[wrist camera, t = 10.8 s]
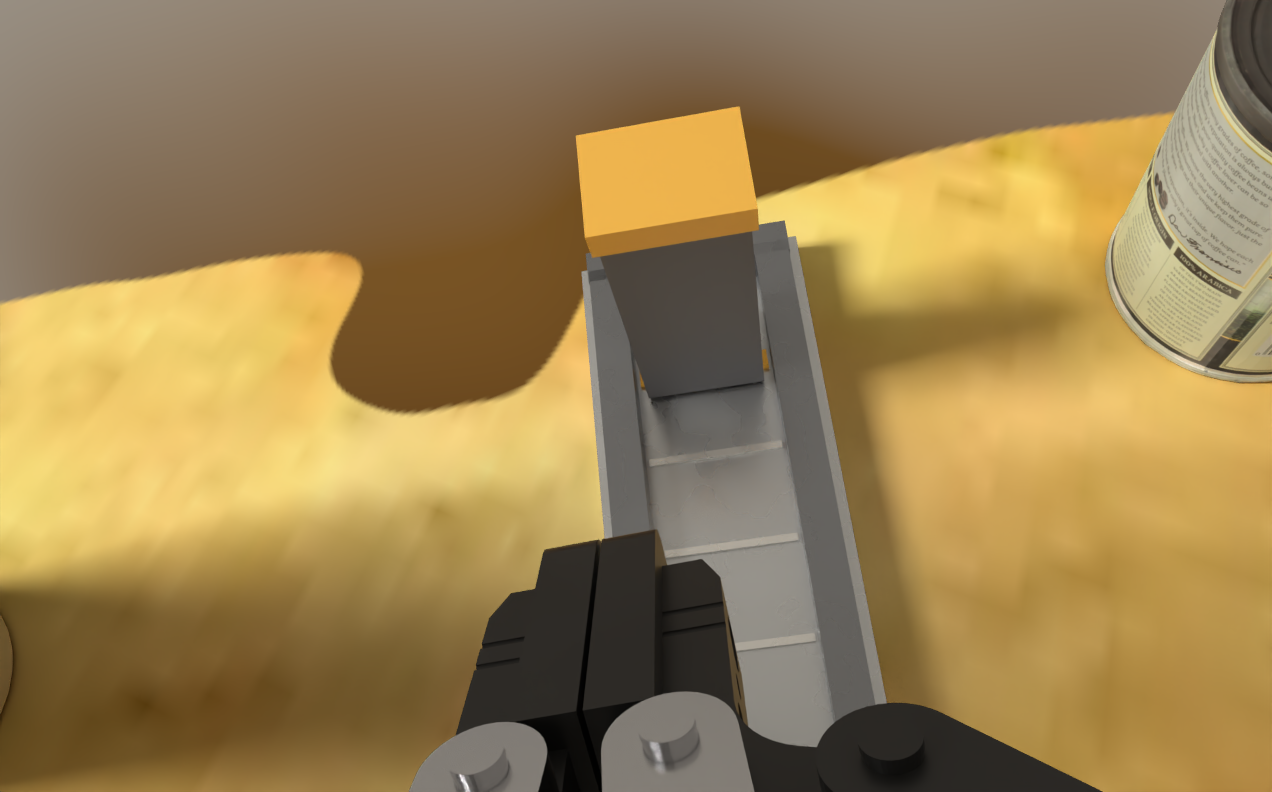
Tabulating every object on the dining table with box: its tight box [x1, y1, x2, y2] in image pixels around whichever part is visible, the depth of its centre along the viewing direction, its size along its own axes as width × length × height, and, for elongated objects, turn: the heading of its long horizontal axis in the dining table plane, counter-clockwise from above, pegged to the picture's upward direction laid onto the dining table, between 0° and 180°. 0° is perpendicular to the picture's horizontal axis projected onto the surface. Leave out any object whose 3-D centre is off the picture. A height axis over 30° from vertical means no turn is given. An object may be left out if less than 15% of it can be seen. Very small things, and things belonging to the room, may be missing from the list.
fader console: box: [582, 221, 887, 747], centre depth 41 cm, size 24×10×2 cm, turn 6°
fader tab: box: [576, 107, 764, 398], centre depth 38 cm, size 4×5×13 cm
